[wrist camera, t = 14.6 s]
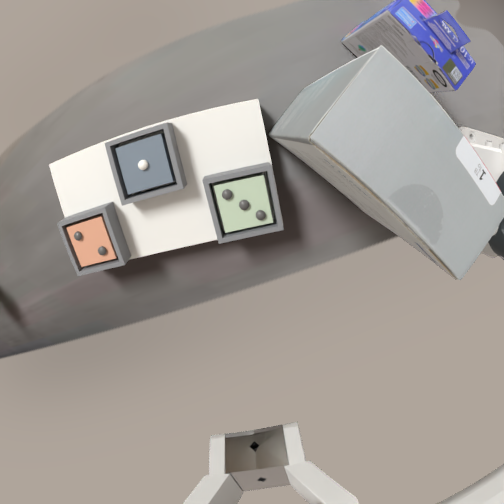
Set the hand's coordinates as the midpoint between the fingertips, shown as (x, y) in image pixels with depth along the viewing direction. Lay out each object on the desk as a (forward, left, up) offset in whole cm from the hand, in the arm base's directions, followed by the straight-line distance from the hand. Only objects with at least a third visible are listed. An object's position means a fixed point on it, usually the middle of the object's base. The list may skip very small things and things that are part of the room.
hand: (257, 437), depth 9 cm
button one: (+8, -8, -26) cm, 28 cm away
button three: (-1, -2, -26) cm, 26 cm away
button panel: (+8, -5, -29) cm, 31 cm away
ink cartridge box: (-21, -16, -29) cm, 39 cm away
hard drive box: (-13, -5, -29) cm, 32 cm away
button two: (+17, -2, -26) cm, 31 cm away
